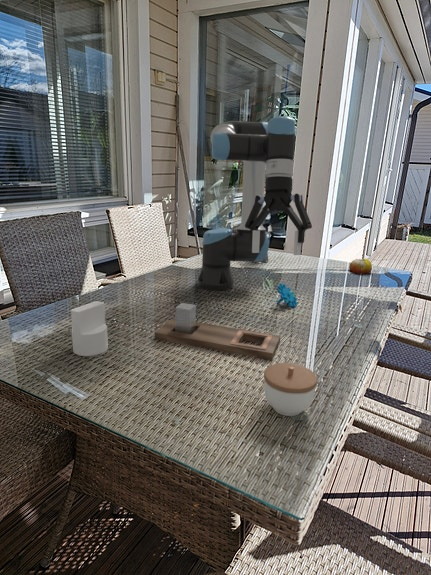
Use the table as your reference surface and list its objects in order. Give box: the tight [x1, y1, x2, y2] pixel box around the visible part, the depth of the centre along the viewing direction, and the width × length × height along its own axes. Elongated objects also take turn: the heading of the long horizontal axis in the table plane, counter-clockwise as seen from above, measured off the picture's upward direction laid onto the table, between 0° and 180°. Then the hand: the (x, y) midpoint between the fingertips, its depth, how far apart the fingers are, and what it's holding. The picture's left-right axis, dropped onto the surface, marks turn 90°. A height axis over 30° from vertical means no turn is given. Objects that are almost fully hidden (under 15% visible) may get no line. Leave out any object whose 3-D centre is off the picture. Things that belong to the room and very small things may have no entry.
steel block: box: [174, 302, 197, 335], centre depth 117 cm, size 4×4×9 cm
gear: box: [276, 282, 299, 308], centre depth 147 cm, size 11×6×10 cm
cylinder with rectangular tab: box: [70, 300, 109, 357], centre depth 106 cm, size 9×9×12 cm
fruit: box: [348, 258, 373, 275], centre depth 198 cm, size 11×10×8 cm
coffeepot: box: [260, 230, 275, 263], centre depth 211 cm, size 15×9×18 cm, turn 125°
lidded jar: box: [263, 362, 318, 417], centre depth 83 cm, size 11×11×9 cm
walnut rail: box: [154, 317, 281, 361], centre depth 115 cm, size 12×34×2 cm, turn 71°
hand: (275, 254), depth 114 cm, fingers open, 13 cm apart
